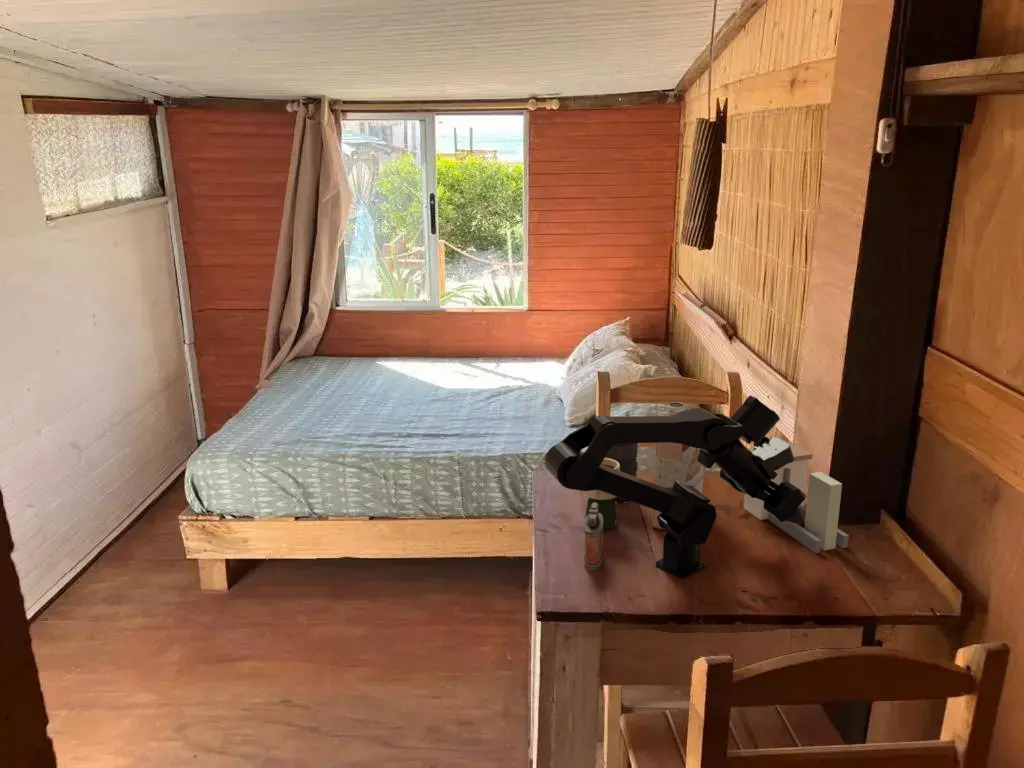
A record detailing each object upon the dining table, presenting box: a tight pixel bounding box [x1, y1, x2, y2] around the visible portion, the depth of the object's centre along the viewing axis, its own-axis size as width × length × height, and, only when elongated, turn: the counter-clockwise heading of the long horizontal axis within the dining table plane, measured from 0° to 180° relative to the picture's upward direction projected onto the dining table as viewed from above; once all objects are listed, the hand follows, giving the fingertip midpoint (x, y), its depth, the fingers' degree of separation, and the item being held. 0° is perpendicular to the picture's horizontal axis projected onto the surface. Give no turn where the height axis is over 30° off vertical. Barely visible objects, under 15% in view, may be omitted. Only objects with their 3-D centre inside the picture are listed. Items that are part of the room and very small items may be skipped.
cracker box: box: [651, 409, 705, 531], centre depth 154 cm, size 14×6×21 cm, turn 148°
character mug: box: [582, 458, 620, 530], centre depth 153 cm, size 11×7×13 cm, turn 161°
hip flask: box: [583, 503, 604, 571], centre depth 140 cm, size 8×3×10 cm, turn 170°
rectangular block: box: [803, 471, 843, 551], centre depth 145 cm, size 2×6×13 cm, turn 17°
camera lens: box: [605, 443, 639, 504], centre depth 165 cm, size 8×8×15 cm
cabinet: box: [743, 442, 850, 554], centre depth 151 cm, size 11×22×13 cm, turn 17°
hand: (785, 510), depth 142 cm, fingers open, 9 cm apart
